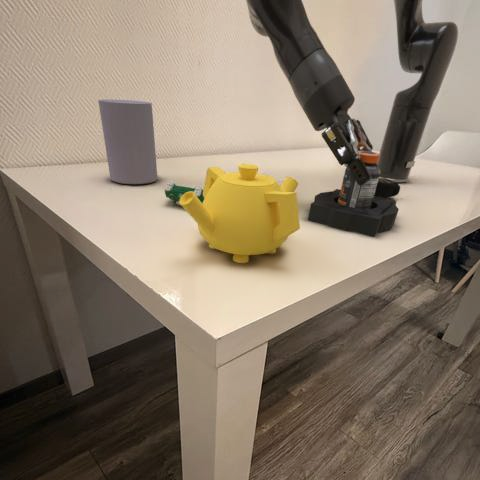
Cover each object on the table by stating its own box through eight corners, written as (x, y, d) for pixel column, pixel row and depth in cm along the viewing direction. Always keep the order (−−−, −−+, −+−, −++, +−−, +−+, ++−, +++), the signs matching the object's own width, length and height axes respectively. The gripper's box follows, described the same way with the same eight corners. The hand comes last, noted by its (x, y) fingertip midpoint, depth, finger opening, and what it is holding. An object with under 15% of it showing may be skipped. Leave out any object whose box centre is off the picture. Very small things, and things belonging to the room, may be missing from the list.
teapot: (251, 218, 59) (257, 149, 53) (333, 254, 49) (353, 172, 42) (149, 242, 48) (141, 157, 41) (228, 295, 37) (233, 192, 31)
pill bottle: (333, 211, 65) (347, 147, 59) (363, 214, 65) (381, 150, 58) (336, 221, 61) (352, 153, 54) (369, 225, 60) (389, 156, 54)
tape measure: (398, 200, 75) (403, 183, 73) (373, 201, 74) (378, 183, 71) (379, 192, 81) (384, 175, 79) (355, 192, 79) (359, 175, 77)
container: (101, 182, 72) (87, 100, 64) (124, 172, 81) (115, 99, 72) (145, 187, 71) (137, 104, 62) (164, 177, 79) (159, 102, 71)
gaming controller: (170, 209, 66) (156, 192, 60) (176, 192, 66) (163, 173, 60) (212, 217, 64) (203, 200, 58) (218, 199, 64) (209, 181, 58)
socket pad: (327, 201, 71) (330, 187, 69) (399, 217, 65) (405, 202, 63) (299, 219, 60) (302, 202, 59) (382, 239, 54) (388, 221, 53)
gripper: (324, 69, 48) (381, 171, 50) (353, 75, 58) (400, 160, 60) (286, 109, 53) (339, 200, 55) (318, 108, 63) (363, 185, 66)
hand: (370, 179), depth 58 cm, fingers closed on pill bottle, 6 cm apart
